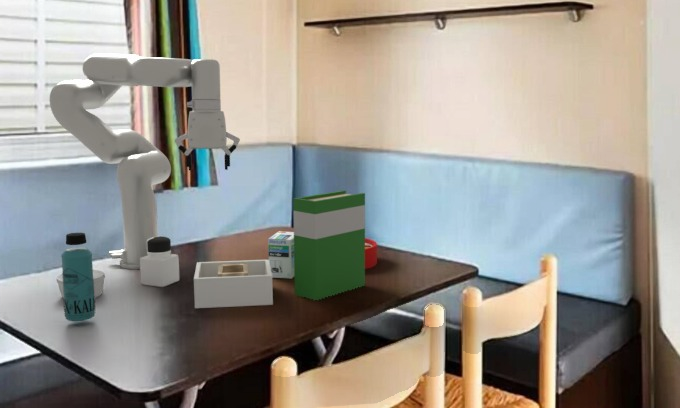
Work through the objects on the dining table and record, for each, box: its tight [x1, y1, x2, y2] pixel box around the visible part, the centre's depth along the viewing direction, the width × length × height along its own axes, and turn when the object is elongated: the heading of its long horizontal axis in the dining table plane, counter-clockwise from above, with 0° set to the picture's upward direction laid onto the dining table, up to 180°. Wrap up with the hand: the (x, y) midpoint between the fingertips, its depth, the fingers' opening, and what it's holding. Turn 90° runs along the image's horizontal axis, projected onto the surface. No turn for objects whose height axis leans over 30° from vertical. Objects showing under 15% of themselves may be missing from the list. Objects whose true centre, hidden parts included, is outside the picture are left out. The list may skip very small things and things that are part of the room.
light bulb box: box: [267, 230, 294, 280], centre depth 199 cm, size 11×7×11 cm, turn 168°
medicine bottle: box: [139, 235, 180, 288], centre depth 190 cm, size 7×7×12 cm
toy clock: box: [365, 237, 378, 270], centre depth 212 cm, size 20×6×20 cm
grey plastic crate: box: [193, 259, 274, 309], centre depth 178 cm, size 18×16×7 cm
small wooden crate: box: [218, 264, 248, 277], centre depth 178 cm, size 7×9×6 cm
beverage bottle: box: [60, 232, 96, 322], centre depth 157 cm, size 6×7×20 cm
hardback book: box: [292, 189, 366, 301], centre depth 182 cm, size 18×7×24 cm, turn 137°
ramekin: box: [56, 269, 106, 299], centre depth 180 cm, size 11×11×5 cm
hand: (208, 169), depth 199 cm, fingers open, 9 cm apart
